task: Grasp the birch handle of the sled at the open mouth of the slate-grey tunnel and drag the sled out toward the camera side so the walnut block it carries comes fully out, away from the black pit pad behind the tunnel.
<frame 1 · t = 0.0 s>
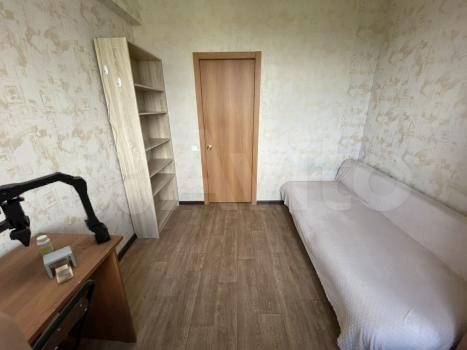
hand: (27, 242, 94), 15 cm above the table, fingers open, 9 cm apart
supplement bottle: (47, 252, 109), on the table
tunnel: (62, 267, 98), on the table
pit pad: (60, 259, 103), on the table
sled: (61, 265, 95), point 3 cm above the table, slide at 0.0 cm
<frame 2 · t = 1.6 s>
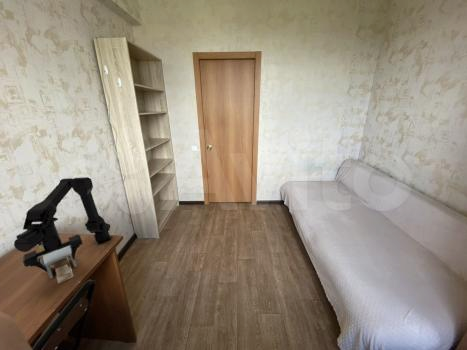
hand: (60, 265, 88), 8 cm above the table, fingers open, 9 cm apart
nothing on the table moved.
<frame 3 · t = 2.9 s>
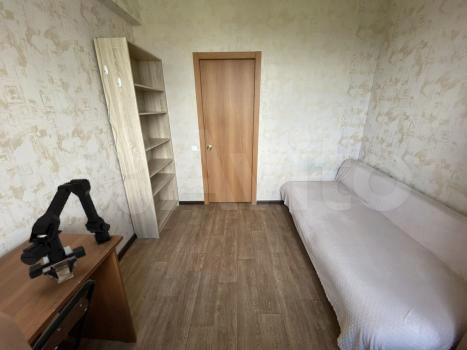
hand: (64, 276, 90), 2 cm above the table, fingers closed on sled, 4 cm apart
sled: (61, 265, 95), point 3 cm above the table, slide at 0.0 cm, touching gripper
everything else where it was.
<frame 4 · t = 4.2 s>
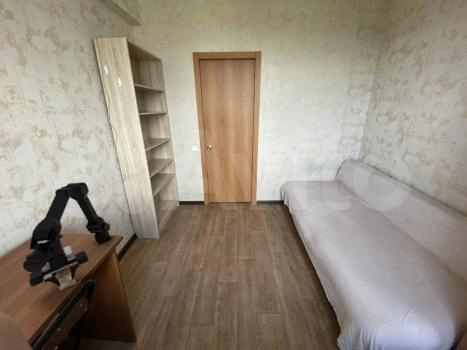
hand: (66, 282, 87), 2 cm above the table, fingers closed on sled, 4 cm apart
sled: (63, 271, 91), point 3 cm above the table, slide at 5.2 cm, touching gripper
everything else where it was.
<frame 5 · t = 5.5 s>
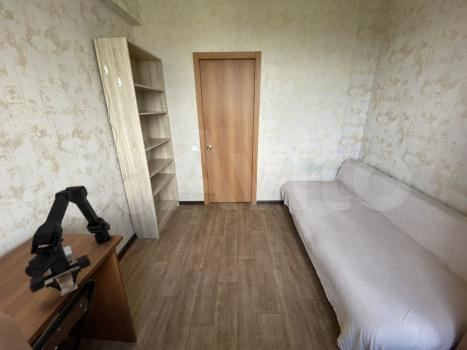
hand: (68, 287, 84), 2 cm above the table, fingers closed on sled, 4 cm apart
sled: (64, 275, 89), point 3 cm above the table, slide at 9.0 cm, touching gripper
everything else where it was.
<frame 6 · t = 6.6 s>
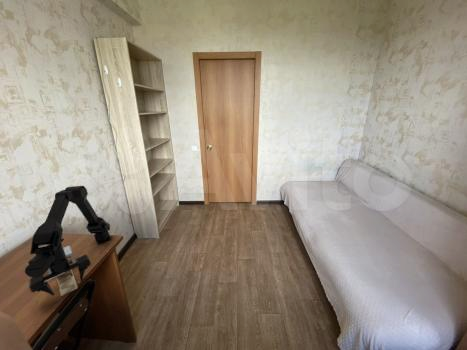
hand: (68, 287, 84), 2 cm above the table, fingers open, 9 cm apart
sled: (64, 275, 89), point 3 cm above the table, slide at 9.0 cm
everything else where it was.
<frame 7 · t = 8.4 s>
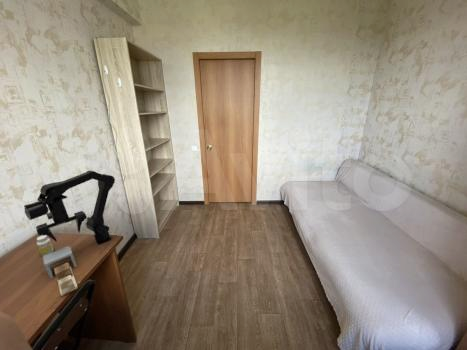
hand: (68, 236, 102), 12 cm above the table, fingers open, 9 cm apart
nothing on the table moved.
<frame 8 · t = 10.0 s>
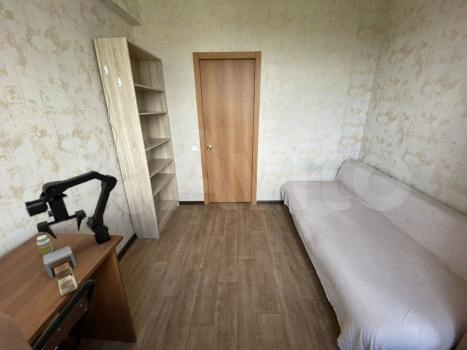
hand: (67, 234, 103), 12 cm above the table, fingers open, 9 cm apart
nothing on the table moved.
at the end: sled slide at 9.0 cm; the gripper is holding nothing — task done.
